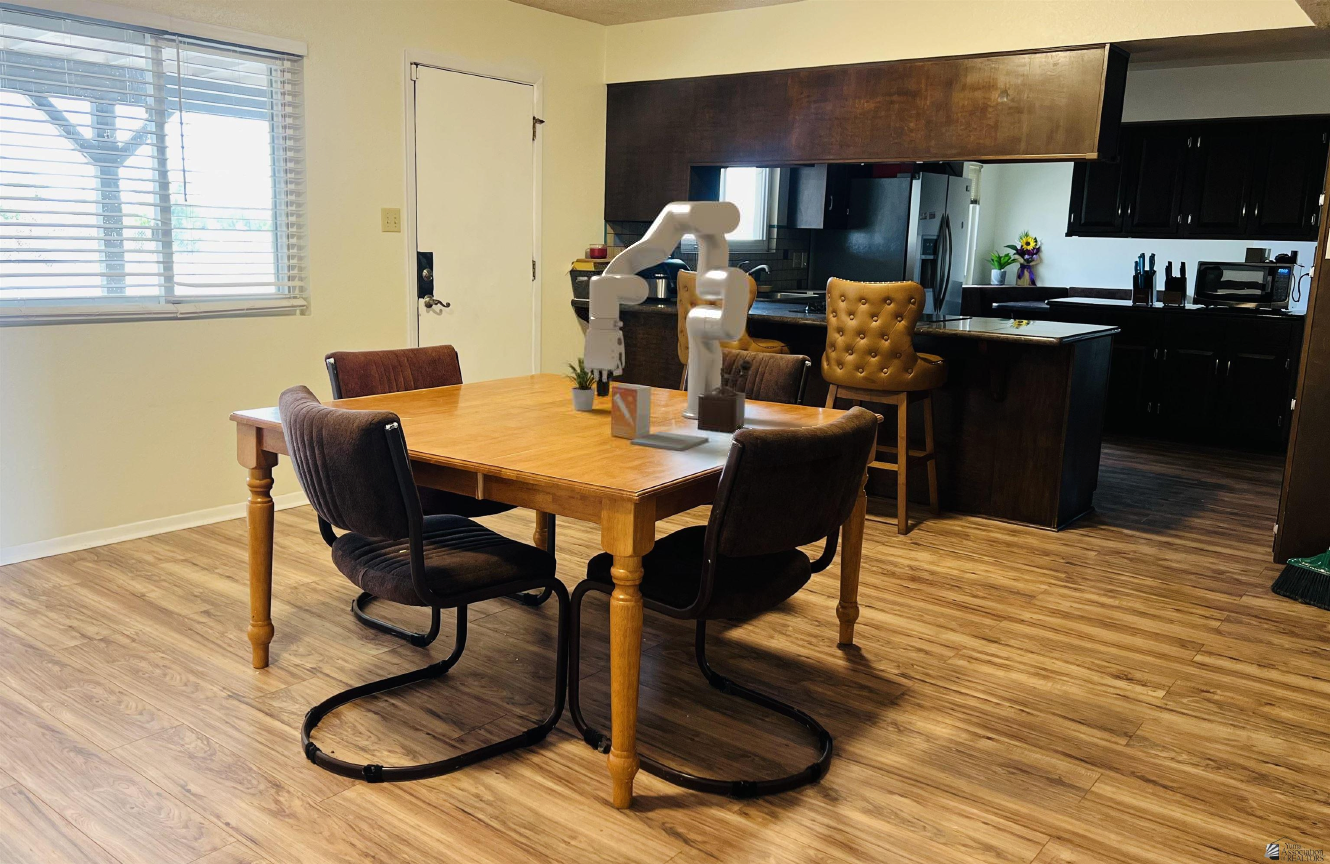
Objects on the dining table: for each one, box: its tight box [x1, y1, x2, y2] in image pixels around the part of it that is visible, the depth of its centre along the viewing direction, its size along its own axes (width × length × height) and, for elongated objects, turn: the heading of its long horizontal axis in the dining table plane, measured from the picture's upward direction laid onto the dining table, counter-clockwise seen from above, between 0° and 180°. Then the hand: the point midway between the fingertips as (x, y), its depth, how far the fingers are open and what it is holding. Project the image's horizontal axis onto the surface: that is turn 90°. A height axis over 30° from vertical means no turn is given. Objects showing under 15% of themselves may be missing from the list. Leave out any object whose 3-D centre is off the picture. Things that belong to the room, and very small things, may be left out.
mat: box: [629, 431, 709, 452], centre depth 255 cm, size 15×14×1 cm
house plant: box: [561, 356, 597, 412], centre depth 298 cm, size 14×14×16 cm
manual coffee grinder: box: [697, 359, 754, 434], centre depth 276 cm, size 16×11×18 cm
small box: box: [610, 383, 652, 440], centre depth 260 cm, size 8×6×13 cm
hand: (602, 396), depth 263 cm, fingers closed
